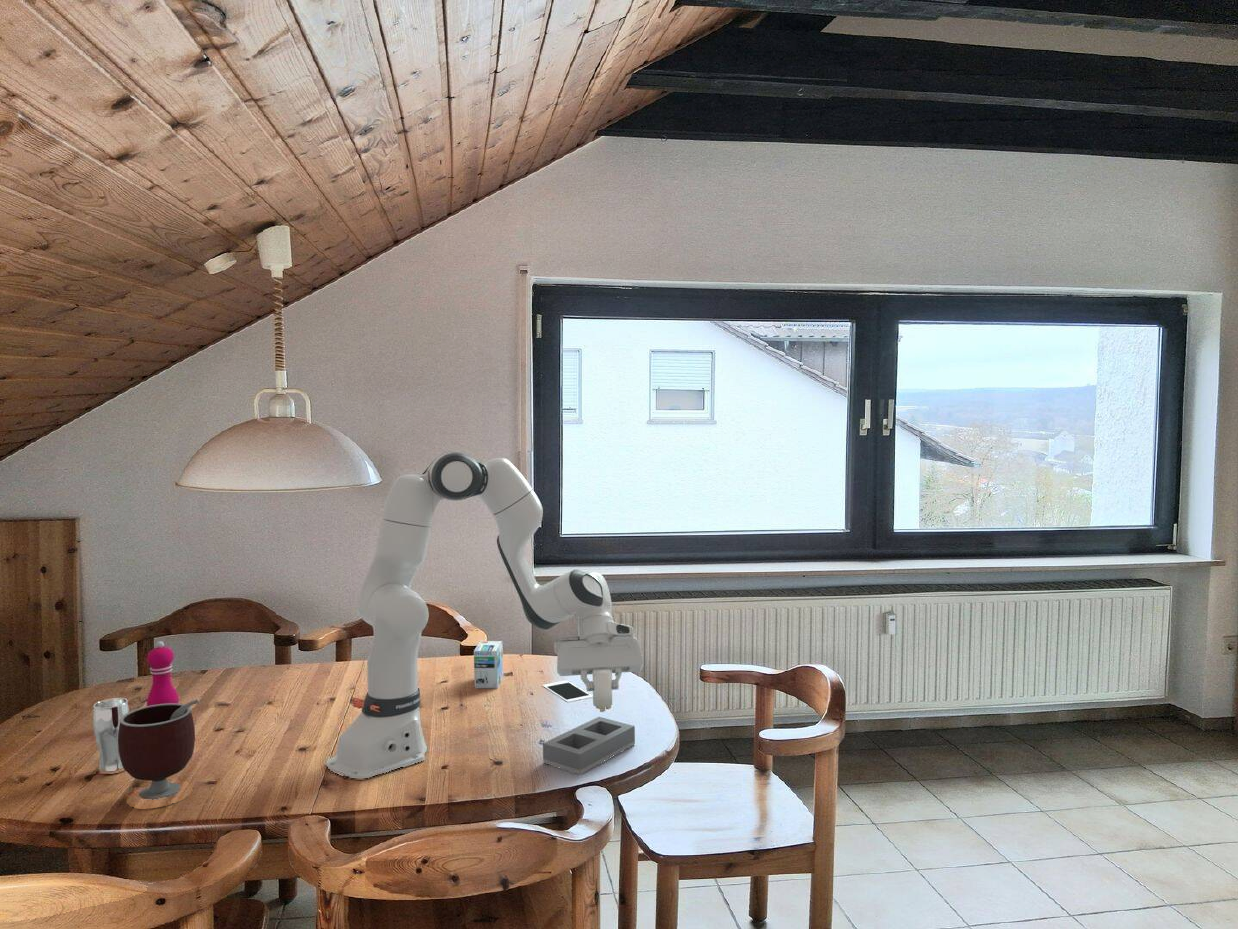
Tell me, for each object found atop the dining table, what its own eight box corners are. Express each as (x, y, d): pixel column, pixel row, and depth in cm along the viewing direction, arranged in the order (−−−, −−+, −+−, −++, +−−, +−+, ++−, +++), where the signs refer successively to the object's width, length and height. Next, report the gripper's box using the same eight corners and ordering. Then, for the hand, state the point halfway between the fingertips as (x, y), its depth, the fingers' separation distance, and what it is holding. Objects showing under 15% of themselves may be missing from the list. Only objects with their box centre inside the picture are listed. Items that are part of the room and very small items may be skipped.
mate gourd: (106, 812, 175) (101, 712, 173) (144, 781, 189) (139, 689, 187) (185, 811, 175) (180, 711, 173) (217, 780, 189) (212, 688, 187)
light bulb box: (498, 689, 246) (497, 650, 246) (473, 689, 247) (472, 651, 246) (503, 677, 257) (503, 640, 256) (480, 677, 257) (479, 640, 256)
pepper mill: (151, 725, 221) (147, 646, 220) (144, 718, 227) (140, 641, 225) (183, 718, 226) (179, 641, 224) (174, 711, 231) (171, 635, 230)
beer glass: (108, 763, 199) (104, 697, 197) (139, 763, 198) (135, 697, 197) (88, 776, 192) (85, 708, 190) (120, 776, 191) (116, 708, 190)
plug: (604, 714, 201) (603, 675, 200) (589, 710, 203) (588, 671, 203) (616, 708, 204) (615, 670, 204) (601, 704, 207) (600, 666, 206)
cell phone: (566, 682, 253) (566, 680, 253) (593, 698, 239) (593, 696, 239) (541, 687, 249) (541, 685, 249) (567, 704, 235) (567, 701, 235)
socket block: (580, 775, 189) (579, 754, 189) (543, 763, 196) (542, 743, 195) (634, 745, 205) (634, 726, 205) (599, 735, 212) (598, 716, 211)
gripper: (553, 631, 208) (557, 685, 199) (640, 627, 211) (647, 680, 202) (553, 645, 213) (556, 698, 204) (637, 640, 216) (644, 693, 207)
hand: (602, 689), depth 203 cm, fingers closed on plug, 4 cm apart
